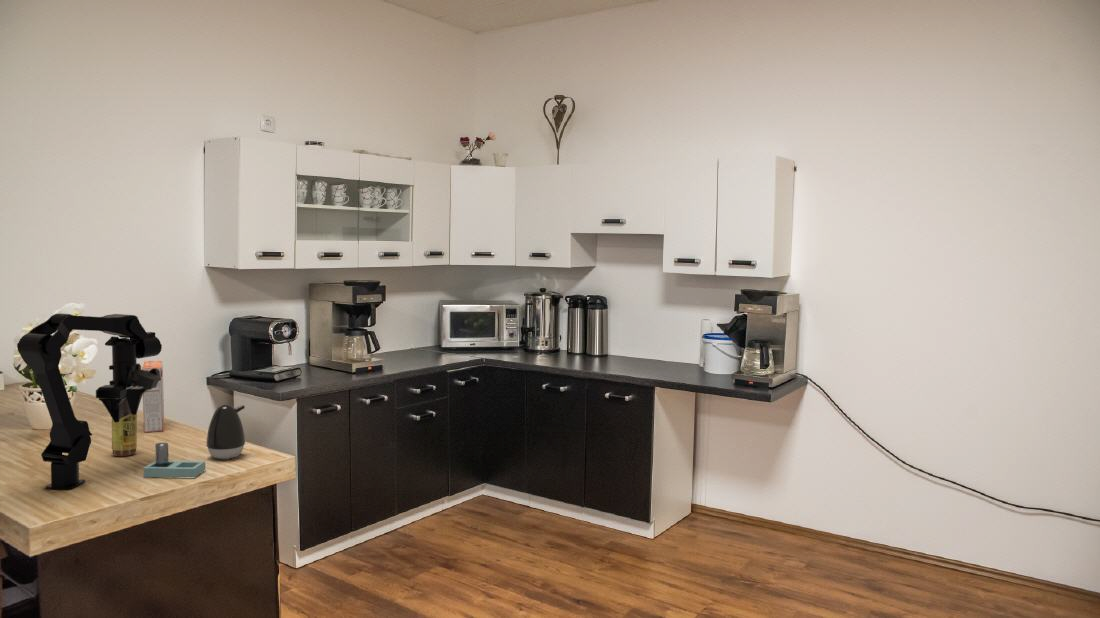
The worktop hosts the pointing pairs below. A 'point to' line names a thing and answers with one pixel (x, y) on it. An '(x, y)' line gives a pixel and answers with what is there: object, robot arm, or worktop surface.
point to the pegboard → (175, 469)
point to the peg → (162, 455)
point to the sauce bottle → (124, 432)
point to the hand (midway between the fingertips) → (125, 418)
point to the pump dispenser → (226, 432)
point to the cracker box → (153, 401)
